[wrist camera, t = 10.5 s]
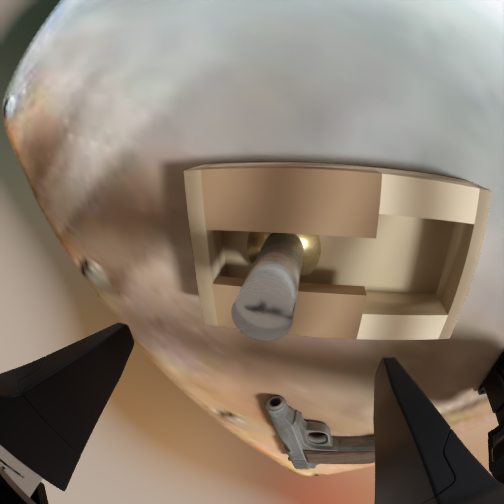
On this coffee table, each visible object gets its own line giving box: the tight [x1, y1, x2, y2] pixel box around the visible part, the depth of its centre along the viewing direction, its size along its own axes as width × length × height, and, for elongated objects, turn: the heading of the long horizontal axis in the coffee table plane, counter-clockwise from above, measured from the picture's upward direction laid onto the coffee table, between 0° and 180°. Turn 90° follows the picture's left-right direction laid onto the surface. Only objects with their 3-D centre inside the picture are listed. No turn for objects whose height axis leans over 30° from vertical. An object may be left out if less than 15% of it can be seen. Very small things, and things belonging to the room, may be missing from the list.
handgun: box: [264, 396, 375, 469], centre depth 24 cm, size 3×16×12 cm
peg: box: [231, 232, 321, 341], centre depth 14 cm, size 4×4×8 cm
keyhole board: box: [184, 162, 492, 340], centre depth 15 cm, size 17×10×3 cm, turn 92°
